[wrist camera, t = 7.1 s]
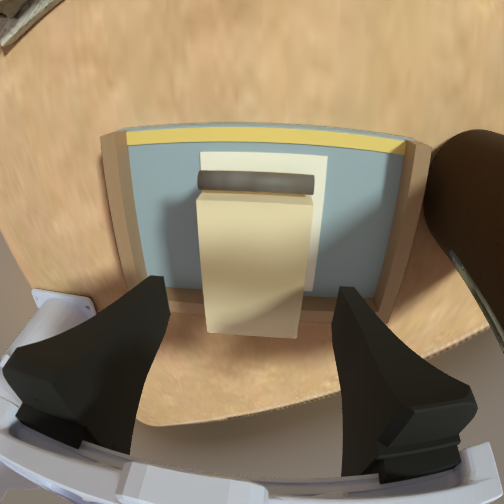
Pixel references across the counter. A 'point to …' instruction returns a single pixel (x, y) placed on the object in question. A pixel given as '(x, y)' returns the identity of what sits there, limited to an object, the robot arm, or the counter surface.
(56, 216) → the counter surface
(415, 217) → the dock
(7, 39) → the packaged product
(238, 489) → the robot arm
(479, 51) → the counter surface
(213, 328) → the beige block with rod
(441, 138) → the counter surface
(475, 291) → the olive oil
